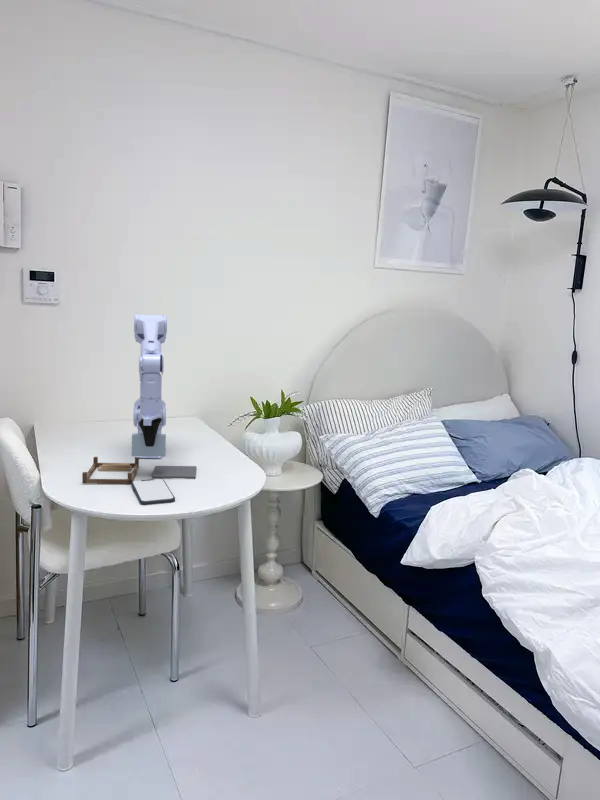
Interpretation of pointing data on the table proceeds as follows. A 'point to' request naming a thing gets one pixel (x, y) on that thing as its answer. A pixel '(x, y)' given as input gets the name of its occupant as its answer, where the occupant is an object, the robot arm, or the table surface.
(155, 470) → the mat
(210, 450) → the table surface
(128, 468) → the offcut stack
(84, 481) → the frame
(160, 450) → the panel
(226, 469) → the table surface
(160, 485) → the phone case
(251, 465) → the table surface
